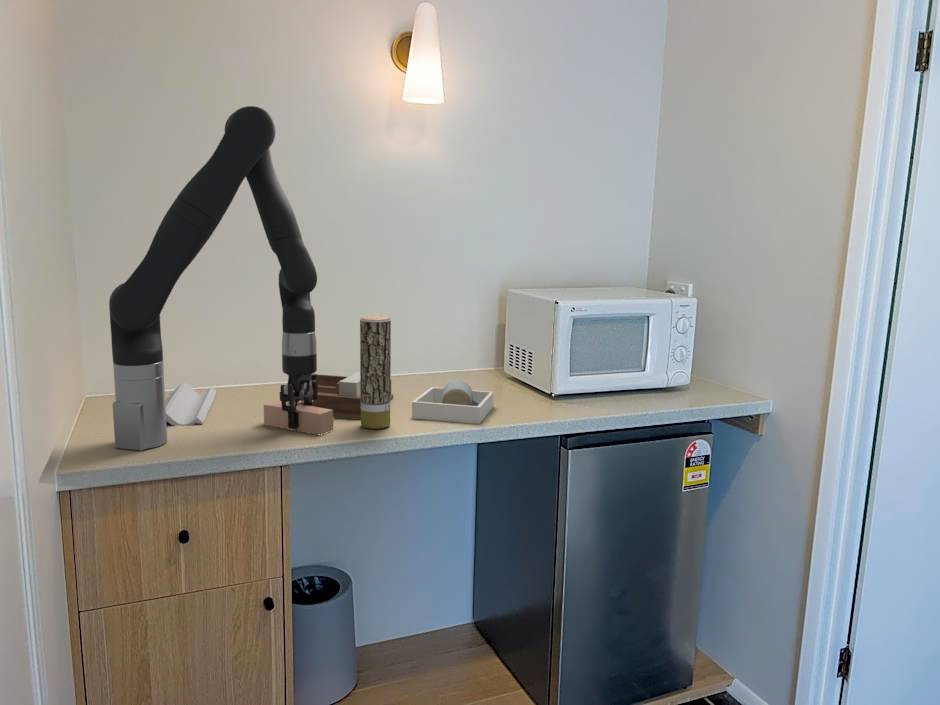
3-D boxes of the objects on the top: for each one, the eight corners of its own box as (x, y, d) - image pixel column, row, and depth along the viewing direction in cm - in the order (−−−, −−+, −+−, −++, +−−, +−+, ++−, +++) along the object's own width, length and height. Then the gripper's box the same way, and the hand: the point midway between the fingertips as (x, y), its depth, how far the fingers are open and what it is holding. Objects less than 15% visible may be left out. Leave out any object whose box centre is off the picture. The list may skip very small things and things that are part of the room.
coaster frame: (479, 423, 169) (480, 407, 169) (411, 418, 173) (412, 401, 172) (493, 406, 185) (493, 391, 185) (431, 401, 189) (431, 387, 188)
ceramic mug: (440, 417, 175) (441, 386, 173) (442, 408, 183) (443, 378, 181) (484, 418, 175) (486, 387, 173) (483, 410, 183) (485, 380, 181)
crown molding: (202, 427, 164) (201, 412, 163) (145, 430, 161) (144, 414, 160) (216, 394, 194) (215, 381, 193) (168, 396, 191) (167, 383, 190)
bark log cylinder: (362, 430, 162) (362, 320, 157) (358, 422, 168) (358, 316, 164) (392, 429, 163) (393, 319, 159) (387, 421, 170) (387, 315, 165)
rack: (362, 419, 171) (362, 398, 170) (277, 411, 176) (277, 391, 175) (393, 398, 192) (393, 379, 191) (316, 392, 197) (316, 374, 196)
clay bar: (333, 431, 162) (333, 409, 161) (320, 436, 158) (320, 414, 157) (277, 421, 169) (277, 400, 168) (264, 425, 165) (263, 404, 164)
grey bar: (356, 403, 174) (356, 382, 173) (339, 401, 175) (338, 381, 174) (379, 388, 189) (379, 370, 188) (363, 387, 190) (363, 369, 189)
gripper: (300, 358, 153) (301, 434, 156) (328, 347, 167) (329, 417, 170) (267, 356, 154) (269, 431, 157) (298, 345, 168) (299, 414, 171)
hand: (300, 423), depth 164 cm, fingers open, 6 cm apart
